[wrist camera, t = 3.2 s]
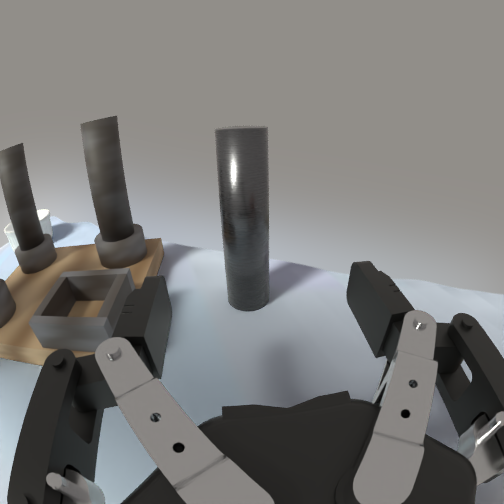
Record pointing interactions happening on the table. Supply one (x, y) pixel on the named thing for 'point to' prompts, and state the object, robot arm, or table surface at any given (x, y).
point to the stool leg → (244, 213)
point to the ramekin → (44, 221)
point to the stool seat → (72, 259)
